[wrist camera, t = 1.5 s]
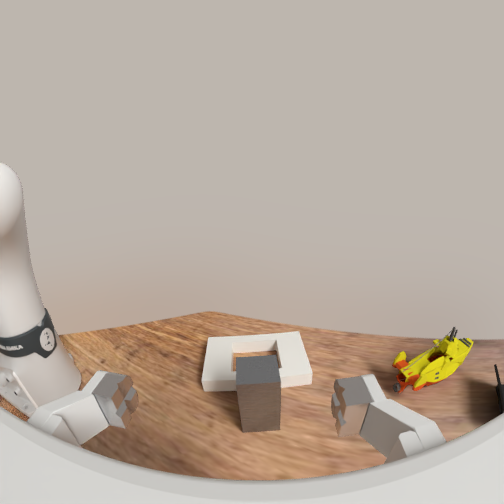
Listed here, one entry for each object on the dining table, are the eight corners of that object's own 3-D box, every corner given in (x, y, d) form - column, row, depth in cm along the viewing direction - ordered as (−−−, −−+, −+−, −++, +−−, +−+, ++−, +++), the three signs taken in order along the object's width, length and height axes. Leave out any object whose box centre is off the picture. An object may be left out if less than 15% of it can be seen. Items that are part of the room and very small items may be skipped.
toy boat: (383, 382, 37) (397, 333, 34) (453, 352, 39) (468, 307, 36) (402, 408, 31) (422, 358, 28) (472, 369, 33) (491, 323, 30)
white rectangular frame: (204, 391, 39) (201, 380, 38) (210, 347, 50) (208, 337, 49) (311, 383, 39) (312, 373, 38) (298, 341, 50) (298, 331, 50)
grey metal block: (242, 432, 31) (235, 384, 28) (242, 406, 35) (236, 357, 32) (279, 429, 31) (280, 381, 28) (276, 404, 36) (276, 354, 33)
